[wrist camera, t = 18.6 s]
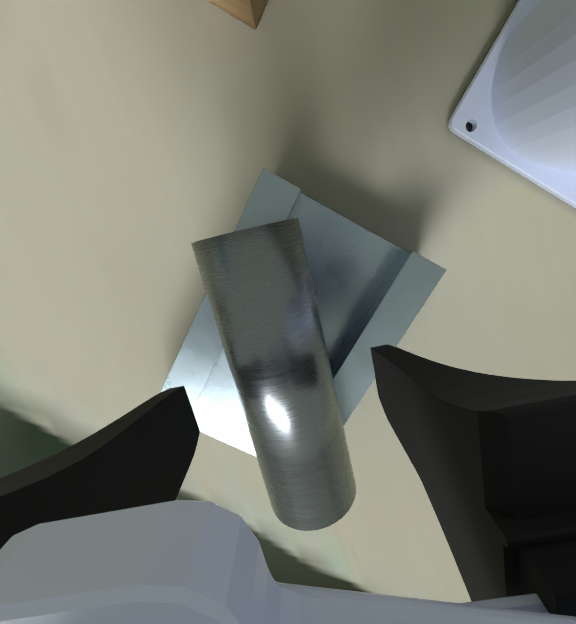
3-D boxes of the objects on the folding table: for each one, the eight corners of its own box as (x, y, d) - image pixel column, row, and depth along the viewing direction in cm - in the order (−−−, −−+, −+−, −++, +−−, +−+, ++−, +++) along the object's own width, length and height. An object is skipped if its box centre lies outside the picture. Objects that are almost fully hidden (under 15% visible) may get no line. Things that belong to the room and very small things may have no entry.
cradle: (416, 261, 17) (446, 269, 14) (296, 451, 20) (297, 495, 17) (269, 180, 16) (263, 168, 13) (170, 393, 19) (144, 428, 16)
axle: (274, 225, 14) (318, 212, 10) (326, 446, 17) (374, 496, 13) (185, 245, 13) (201, 239, 9) (259, 484, 16) (293, 550, 12)
